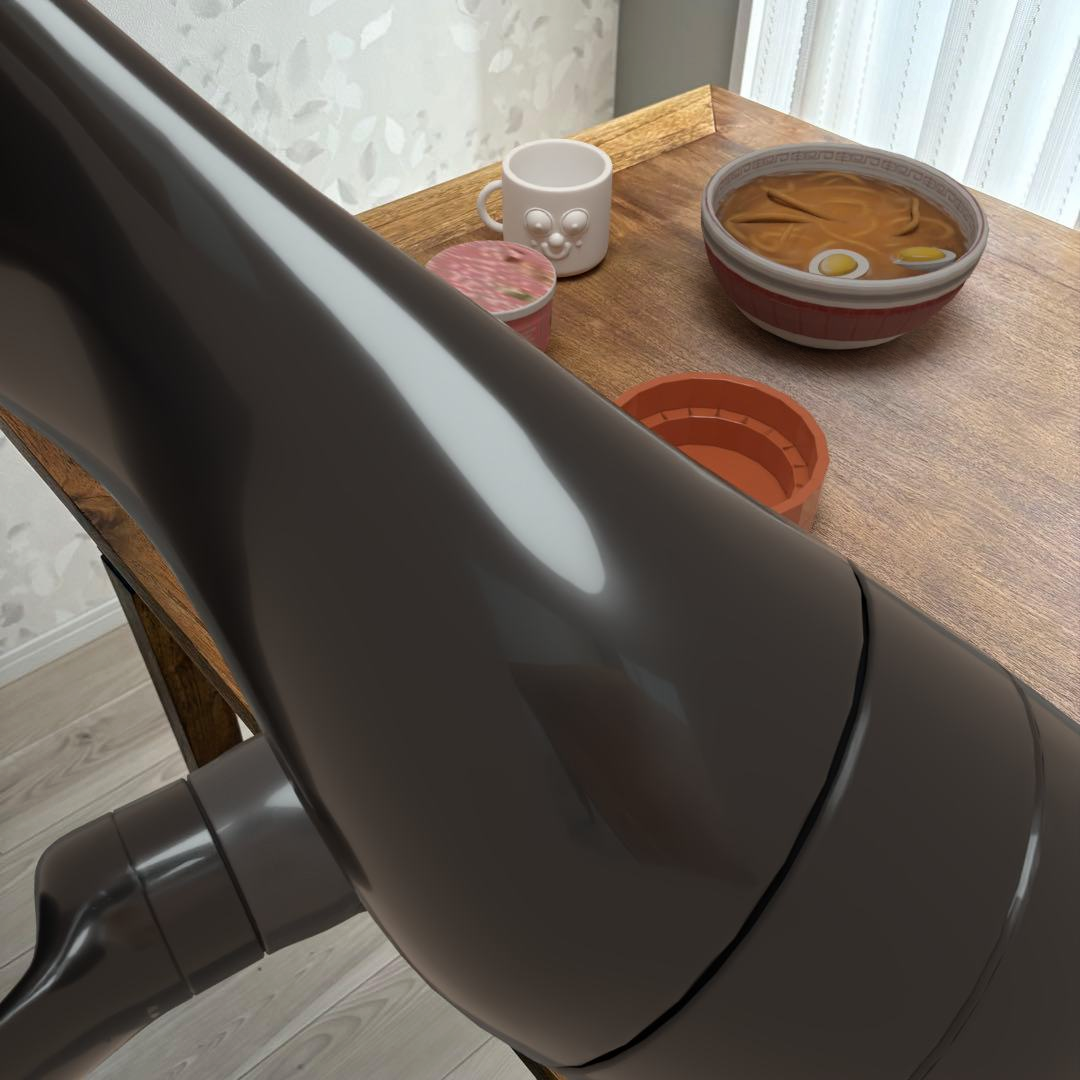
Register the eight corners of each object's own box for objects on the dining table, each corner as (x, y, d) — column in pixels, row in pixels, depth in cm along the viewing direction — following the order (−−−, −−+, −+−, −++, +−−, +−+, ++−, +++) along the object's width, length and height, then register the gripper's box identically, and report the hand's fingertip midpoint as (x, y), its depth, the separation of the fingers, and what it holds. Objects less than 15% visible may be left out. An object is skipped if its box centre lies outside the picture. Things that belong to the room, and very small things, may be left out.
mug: (475, 287, 99) (471, 193, 92) (480, 227, 106) (477, 136, 100) (610, 289, 99) (615, 195, 92) (606, 229, 106) (611, 137, 100)
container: (506, 415, 86) (505, 329, 81) (401, 369, 91) (392, 284, 85) (579, 349, 93) (582, 265, 87) (477, 309, 97) (474, 226, 91)
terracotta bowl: (858, 530, 78) (878, 466, 74) (681, 620, 72) (690, 556, 68) (719, 410, 87) (729, 347, 83) (551, 482, 81) (552, 418, 77)
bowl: (955, 413, 87) (993, 304, 80) (667, 366, 91) (679, 258, 84) (956, 261, 102) (988, 159, 95) (711, 226, 107) (723, 126, 99)
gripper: (425, 913, 34) (833, 679, 41) (249, 615, 43) (609, 460, 49) (440, 1010, 40) (798, 789, 46) (281, 728, 48) (602, 575, 55)
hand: (699, 620), depth 48 cm, fingers closed on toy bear, 5 cm apart
